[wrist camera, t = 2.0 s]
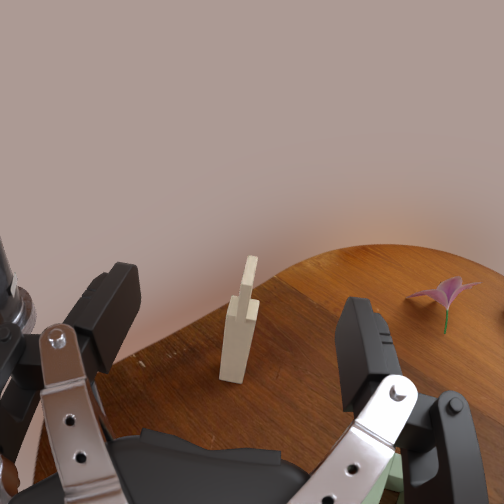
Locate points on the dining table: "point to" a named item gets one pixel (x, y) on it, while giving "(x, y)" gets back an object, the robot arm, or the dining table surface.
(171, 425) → the dining table surface
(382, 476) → the caddy
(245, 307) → the cream offset-tab post
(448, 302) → the lily
